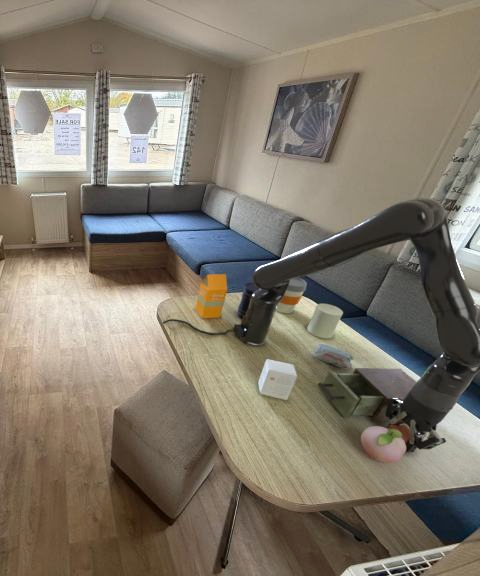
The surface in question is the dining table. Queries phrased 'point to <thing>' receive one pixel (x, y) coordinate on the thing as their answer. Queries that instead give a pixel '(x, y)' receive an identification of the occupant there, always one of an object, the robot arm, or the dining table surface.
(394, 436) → the decorative fruit
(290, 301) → the reusable coffee cup
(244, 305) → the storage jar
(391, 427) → the block
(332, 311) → the can
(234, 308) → the dining table surface
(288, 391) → the small box
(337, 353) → the packaged food
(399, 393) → the cabinet
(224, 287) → the orange juice
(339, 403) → the drawer
